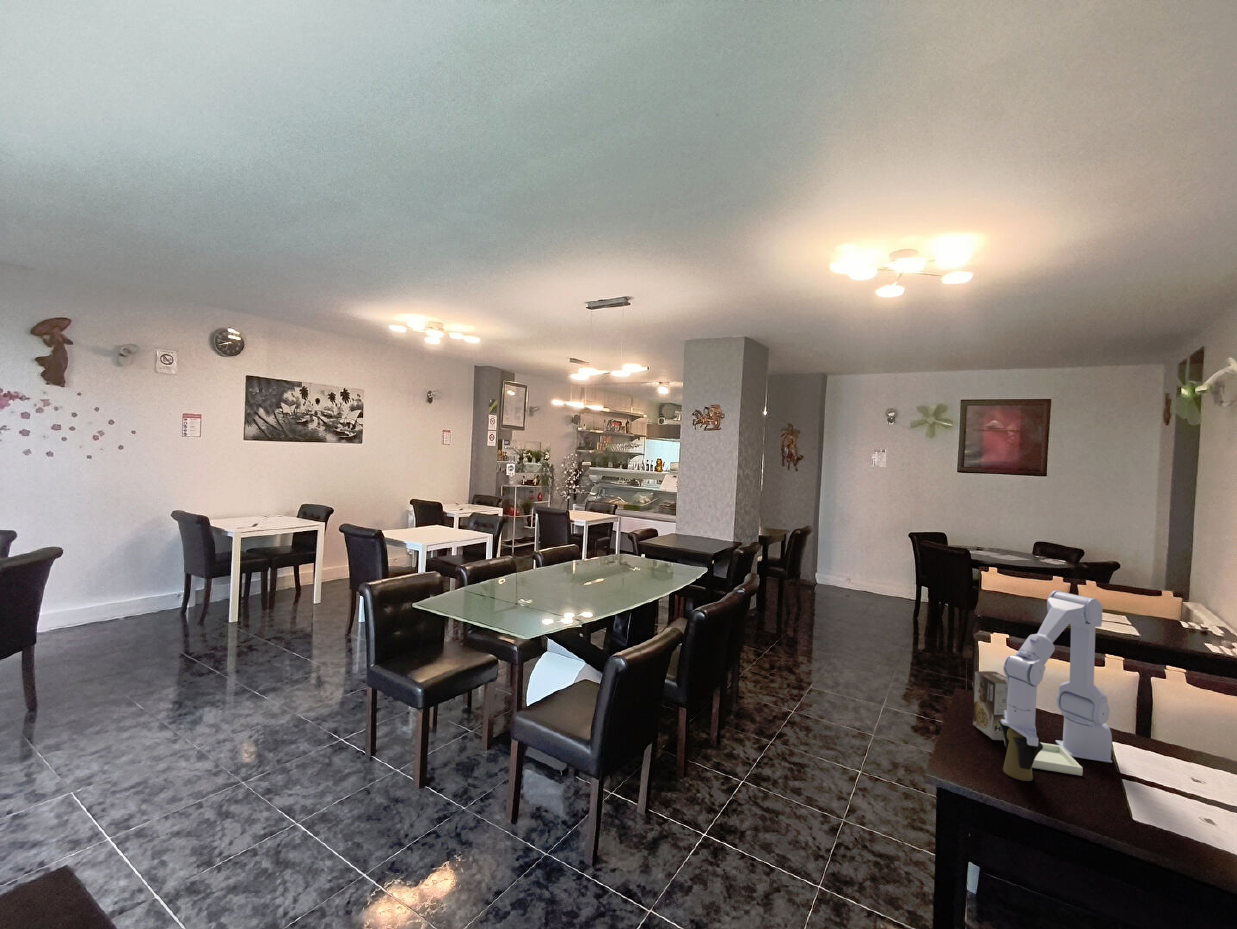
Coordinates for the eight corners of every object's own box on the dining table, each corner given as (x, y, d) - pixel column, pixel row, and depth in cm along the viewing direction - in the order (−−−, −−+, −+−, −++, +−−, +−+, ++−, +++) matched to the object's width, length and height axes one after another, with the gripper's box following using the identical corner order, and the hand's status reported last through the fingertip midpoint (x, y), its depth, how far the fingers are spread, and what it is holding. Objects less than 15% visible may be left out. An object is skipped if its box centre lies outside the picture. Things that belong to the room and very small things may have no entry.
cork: (1038, 782, 132) (1040, 737, 132) (1010, 778, 134) (1012, 734, 133) (1024, 768, 138) (1027, 725, 138) (998, 765, 139) (1000, 722, 139)
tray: (1060, 752, 147) (1060, 745, 147) (1082, 775, 136) (1082, 767, 136) (1004, 744, 150) (1004, 736, 150) (1021, 765, 140) (1021, 758, 140)
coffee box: (1015, 741, 152) (1018, 683, 152) (992, 740, 152) (995, 682, 152) (993, 725, 161) (996, 670, 161) (971, 724, 161) (974, 669, 161)
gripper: (991, 691, 144) (988, 742, 144) (1014, 716, 130) (1011, 772, 130) (1022, 695, 142) (1020, 747, 142) (1049, 721, 128) (1046, 778, 128)
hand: (1018, 760), depth 136 cm, fingers open, 7 cm apart
